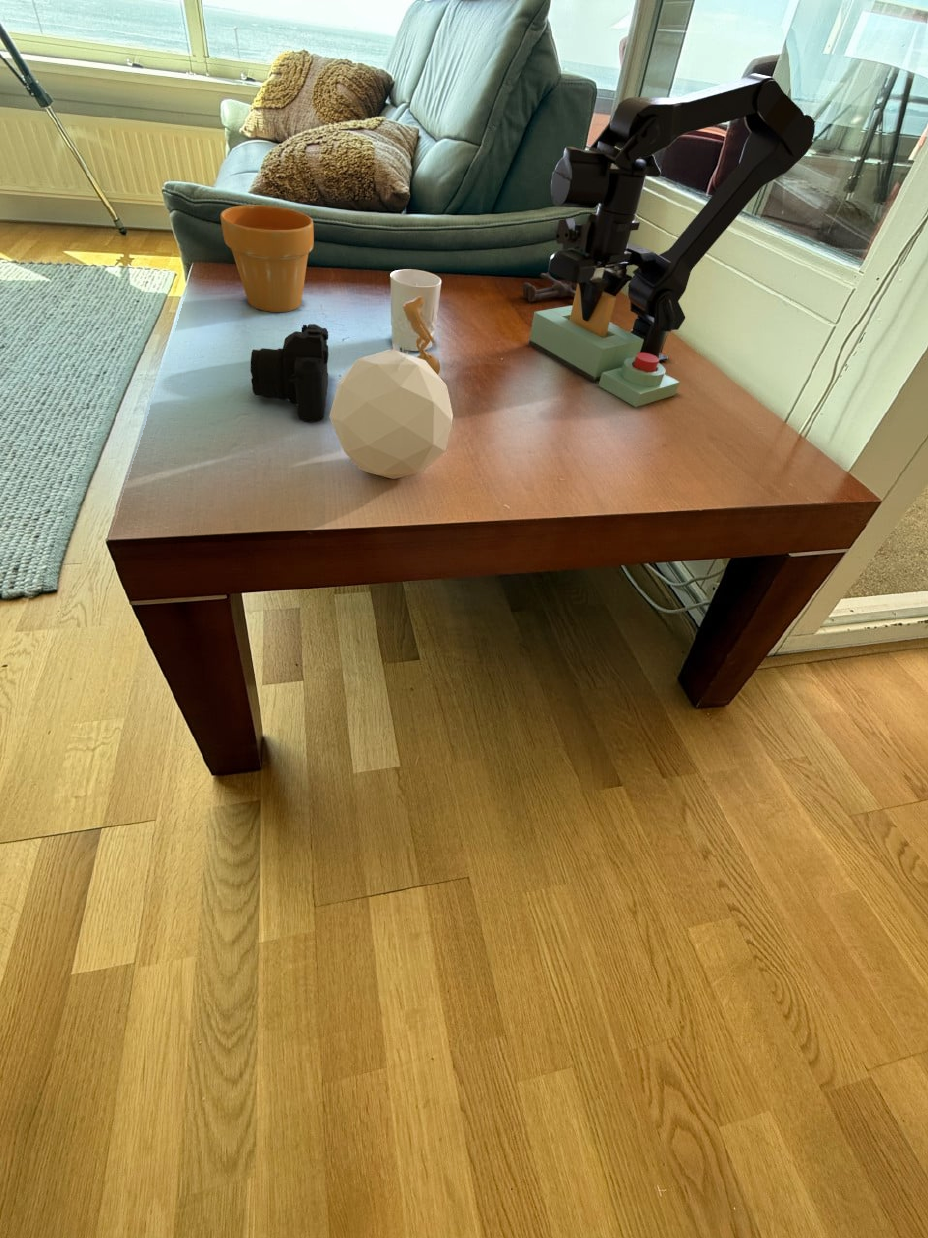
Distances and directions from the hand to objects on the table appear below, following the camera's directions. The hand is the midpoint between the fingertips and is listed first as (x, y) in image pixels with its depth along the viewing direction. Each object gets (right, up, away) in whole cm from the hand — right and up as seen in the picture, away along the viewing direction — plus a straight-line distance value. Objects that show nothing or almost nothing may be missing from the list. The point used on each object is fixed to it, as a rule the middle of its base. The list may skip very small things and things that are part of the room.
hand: (589, 319), depth 104 cm
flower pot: (-54, +5, +6) cm, 54 cm away
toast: (0, -2, +2) cm, 3 cm away
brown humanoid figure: (-2, +16, +25) cm, 30 cm away
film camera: (-44, -19, -17) cm, 51 cm away
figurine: (-27, -14, -9) cm, 32 cm away
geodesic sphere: (-30, -31, -27) cm, 50 cm away
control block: (+7, -12, -2) cm, 14 cm away
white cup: (-29, -4, +1) cm, 30 cm away
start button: (+8, -10, -5) cm, 13 cm away
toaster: (-1, -4, +4) cm, 6 cm away
